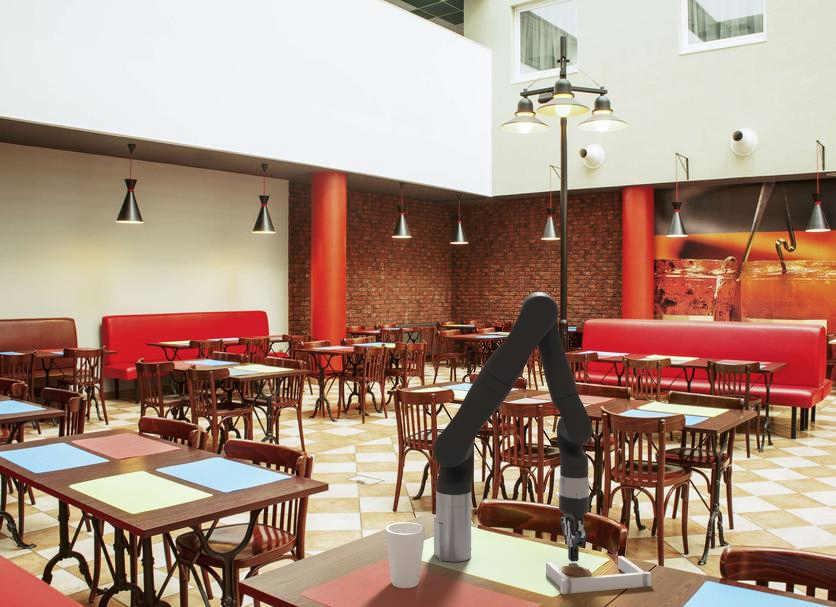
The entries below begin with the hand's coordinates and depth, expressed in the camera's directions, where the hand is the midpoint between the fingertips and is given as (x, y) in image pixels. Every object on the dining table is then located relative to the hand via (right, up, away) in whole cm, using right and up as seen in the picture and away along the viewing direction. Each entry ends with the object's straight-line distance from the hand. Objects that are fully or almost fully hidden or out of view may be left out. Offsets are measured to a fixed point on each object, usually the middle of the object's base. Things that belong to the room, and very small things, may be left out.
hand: (573, 560), depth 189 cm
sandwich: (0, -2, -10) cm, 10 cm away
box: (+3, -1, -11) cm, 12 cm away
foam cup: (-43, -1, -13) cm, 45 cm away
